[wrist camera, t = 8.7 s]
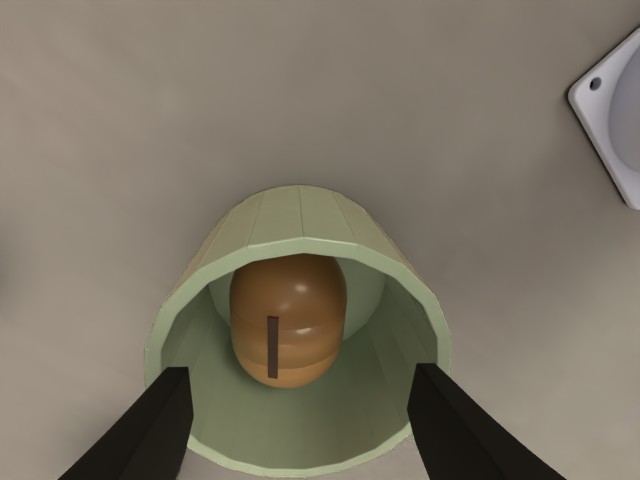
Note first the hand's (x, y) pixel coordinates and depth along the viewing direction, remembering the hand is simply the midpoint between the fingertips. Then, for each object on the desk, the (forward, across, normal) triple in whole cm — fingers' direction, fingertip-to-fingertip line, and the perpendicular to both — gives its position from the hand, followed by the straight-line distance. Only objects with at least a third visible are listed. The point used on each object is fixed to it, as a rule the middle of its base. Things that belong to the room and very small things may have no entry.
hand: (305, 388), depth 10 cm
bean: (+7, 0, 0) cm, 7 cm away
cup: (+7, 0, 0) cm, 7 cm away
